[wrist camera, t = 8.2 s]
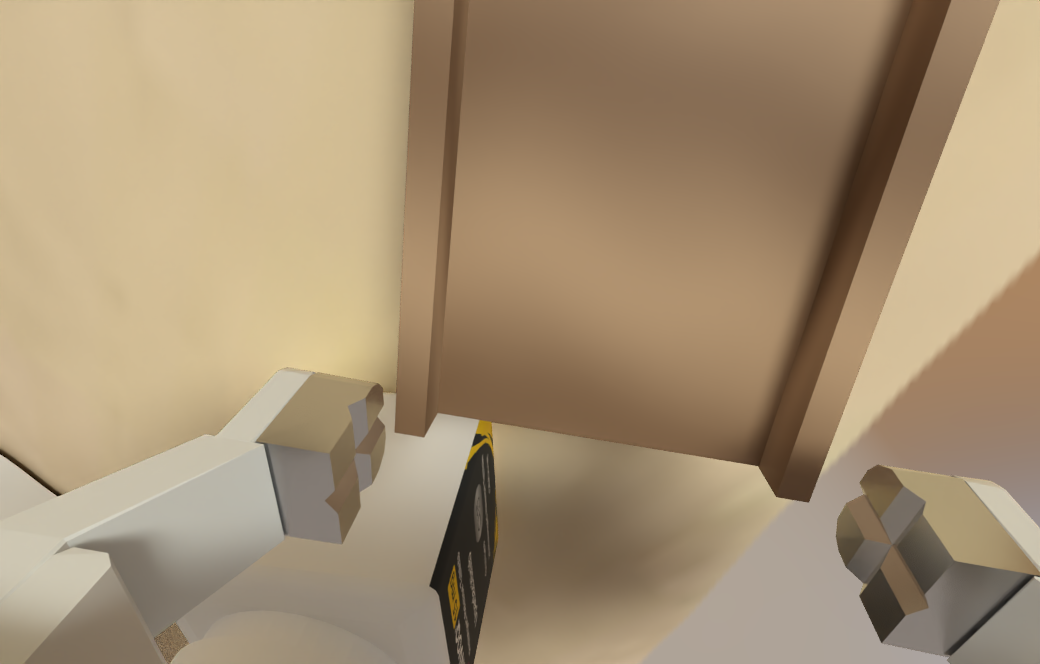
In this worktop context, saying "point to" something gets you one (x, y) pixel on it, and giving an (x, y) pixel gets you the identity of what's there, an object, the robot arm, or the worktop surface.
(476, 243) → the launch ramp
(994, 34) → the worktop surface
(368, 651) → the medicine bottle
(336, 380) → the robot arm
